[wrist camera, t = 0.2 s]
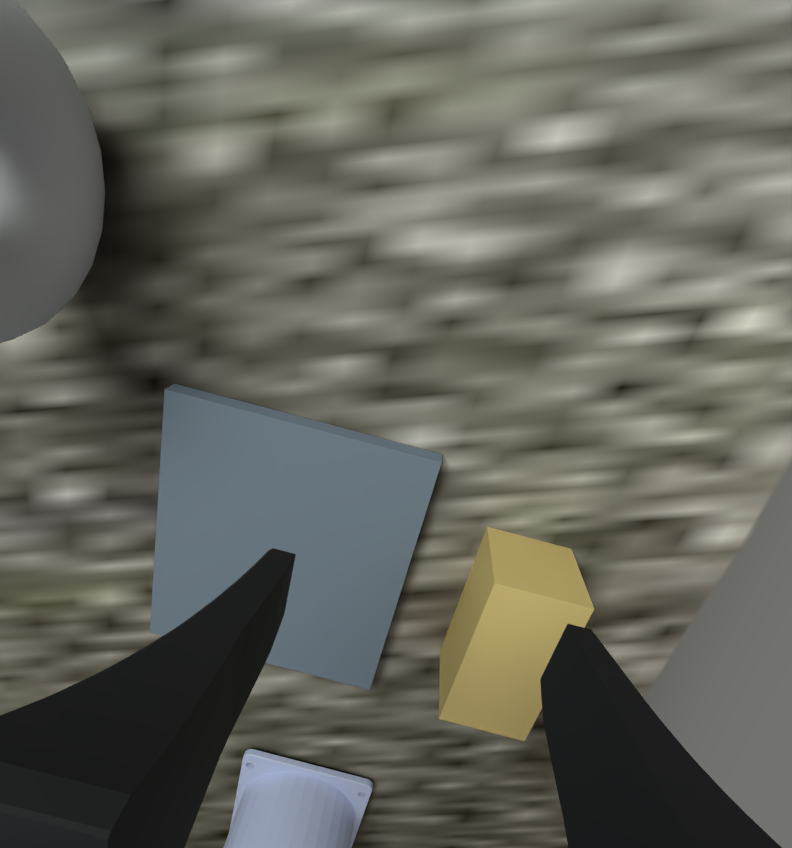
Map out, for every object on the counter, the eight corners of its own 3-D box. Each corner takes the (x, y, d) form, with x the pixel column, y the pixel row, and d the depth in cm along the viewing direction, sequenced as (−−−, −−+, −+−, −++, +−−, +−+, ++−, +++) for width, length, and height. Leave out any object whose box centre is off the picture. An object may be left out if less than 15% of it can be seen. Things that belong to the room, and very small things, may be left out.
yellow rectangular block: (513, 667, 26) (524, 741, 22) (440, 648, 26) (438, 718, 22) (570, 546, 23) (594, 609, 19) (486, 524, 23) (494, 582, 19)
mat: (371, 677, 27) (369, 689, 26) (158, 621, 27) (150, 632, 26) (442, 454, 21) (441, 462, 21) (174, 383, 21) (164, 389, 21)
